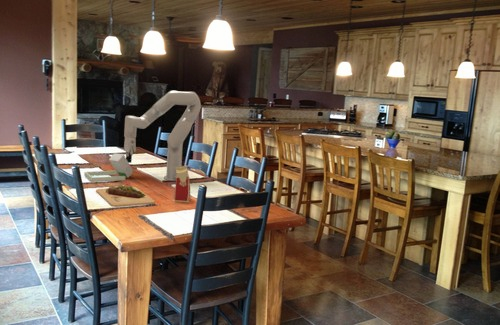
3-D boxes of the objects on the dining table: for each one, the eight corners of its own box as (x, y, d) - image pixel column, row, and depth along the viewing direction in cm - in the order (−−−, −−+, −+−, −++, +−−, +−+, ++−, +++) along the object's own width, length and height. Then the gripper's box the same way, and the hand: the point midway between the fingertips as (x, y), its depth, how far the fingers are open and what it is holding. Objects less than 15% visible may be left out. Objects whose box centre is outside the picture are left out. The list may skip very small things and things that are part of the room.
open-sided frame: (125, 180, 295) (125, 176, 295) (91, 181, 284) (91, 177, 283) (116, 174, 310) (116, 170, 309) (84, 175, 298) (84, 171, 298)
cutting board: (94, 191, 264) (95, 179, 263) (134, 189, 276) (135, 177, 275) (112, 208, 235) (112, 194, 234) (156, 204, 248) (156, 191, 246)
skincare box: (119, 176, 304) (107, 160, 294) (124, 169, 308) (113, 152, 297) (128, 177, 300) (117, 161, 290) (134, 170, 304) (123, 153, 293)
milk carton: (190, 198, 263) (192, 164, 260) (188, 202, 254) (190, 167, 251) (174, 197, 263) (175, 162, 259) (171, 201, 254) (173, 165, 250)
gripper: (139, 136, 296) (137, 164, 300) (132, 133, 309) (130, 160, 312) (128, 136, 292) (126, 164, 295) (120, 132, 305) (119, 160, 308)
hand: (128, 162), depth 304 cm, fingers closed
